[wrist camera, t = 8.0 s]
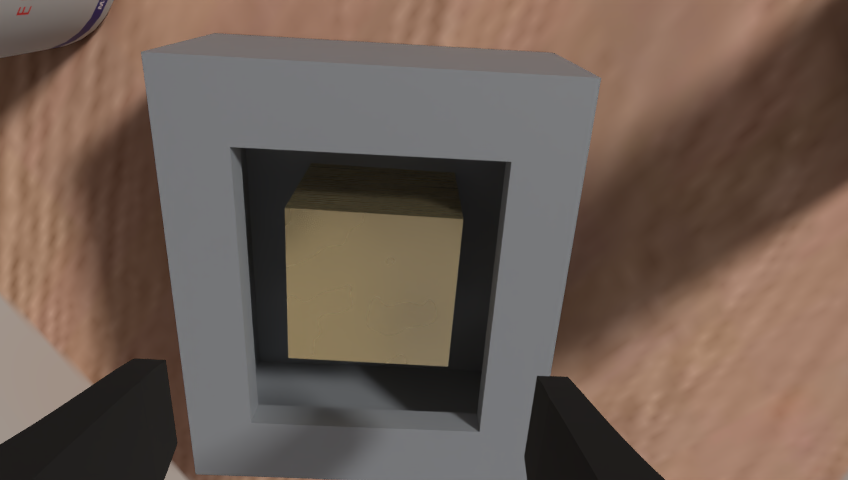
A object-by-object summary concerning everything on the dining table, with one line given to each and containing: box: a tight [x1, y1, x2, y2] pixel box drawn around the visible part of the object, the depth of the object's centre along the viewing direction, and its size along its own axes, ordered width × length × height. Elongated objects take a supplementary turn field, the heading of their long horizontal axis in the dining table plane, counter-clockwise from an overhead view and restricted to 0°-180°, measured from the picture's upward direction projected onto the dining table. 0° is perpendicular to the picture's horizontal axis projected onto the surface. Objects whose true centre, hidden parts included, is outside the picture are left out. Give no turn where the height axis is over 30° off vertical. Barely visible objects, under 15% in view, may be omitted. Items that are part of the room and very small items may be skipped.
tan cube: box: [285, 163, 463, 367], centre depth 18 cm, size 4×4×4 cm
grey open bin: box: [141, 33, 601, 480], centre depth 18 cm, size 12×10×5 cm
